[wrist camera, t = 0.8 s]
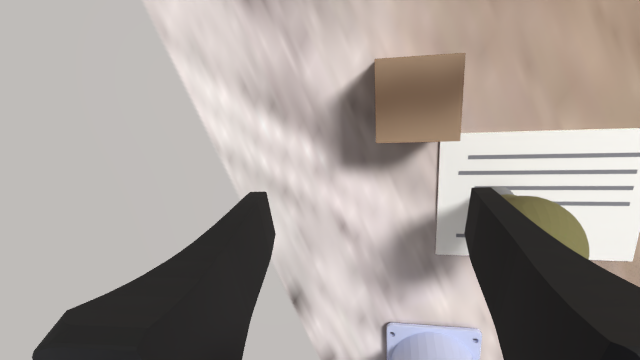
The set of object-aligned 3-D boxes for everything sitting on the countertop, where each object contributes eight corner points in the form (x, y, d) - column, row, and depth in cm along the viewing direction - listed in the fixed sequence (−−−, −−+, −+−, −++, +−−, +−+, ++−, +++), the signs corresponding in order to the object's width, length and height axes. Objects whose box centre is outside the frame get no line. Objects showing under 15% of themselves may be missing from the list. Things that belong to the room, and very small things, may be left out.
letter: (631, 260, 27) (632, 261, 26) (435, 253, 29) (435, 254, 29) (662, 127, 23) (664, 127, 23) (440, 133, 26) (440, 134, 26)
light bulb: (438, 199, 28) (463, 273, 18) (496, 147, 26) (558, 200, 16) (490, 244, 28) (540, 338, 19) (551, 196, 26) (641, 276, 17)
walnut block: (447, 126, 26) (460, 141, 21) (378, 128, 27) (375, 143, 22) (450, 53, 24) (465, 52, 20) (377, 58, 25) (374, 59, 21)
